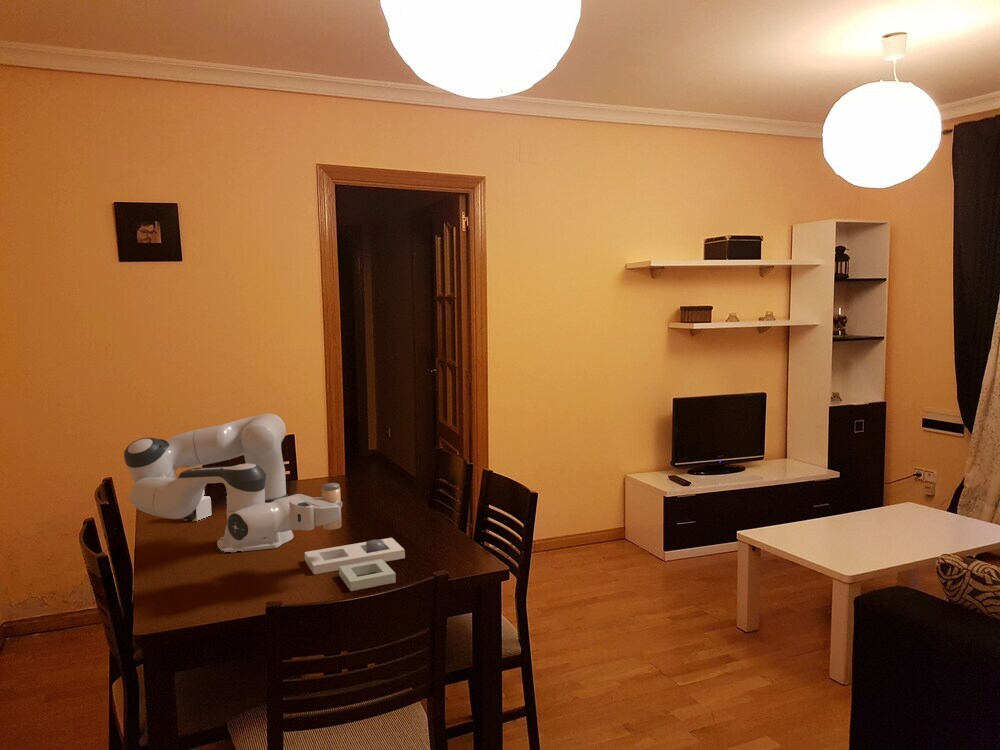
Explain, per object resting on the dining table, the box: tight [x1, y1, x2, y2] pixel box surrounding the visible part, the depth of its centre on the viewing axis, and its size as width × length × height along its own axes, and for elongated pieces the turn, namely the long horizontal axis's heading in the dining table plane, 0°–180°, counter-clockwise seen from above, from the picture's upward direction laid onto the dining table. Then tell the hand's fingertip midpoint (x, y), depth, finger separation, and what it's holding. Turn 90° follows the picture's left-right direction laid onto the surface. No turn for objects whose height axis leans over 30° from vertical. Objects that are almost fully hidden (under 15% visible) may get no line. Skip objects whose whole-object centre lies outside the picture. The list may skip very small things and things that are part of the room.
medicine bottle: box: [180, 489, 213, 522], centre depth 248 cm, size 7×7×12 cm
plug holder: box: [338, 559, 397, 592], centre depth 192 cm, size 12×12×2 cm
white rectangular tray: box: [304, 537, 406, 575], centre depth 206 cm, size 26×12×4 cm, turn 116°
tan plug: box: [321, 482, 342, 530], centre depth 202 cm, size 5×5×12 cm
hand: (334, 501), depth 202 cm, fingers closed on tan plug, 5 cm apart
